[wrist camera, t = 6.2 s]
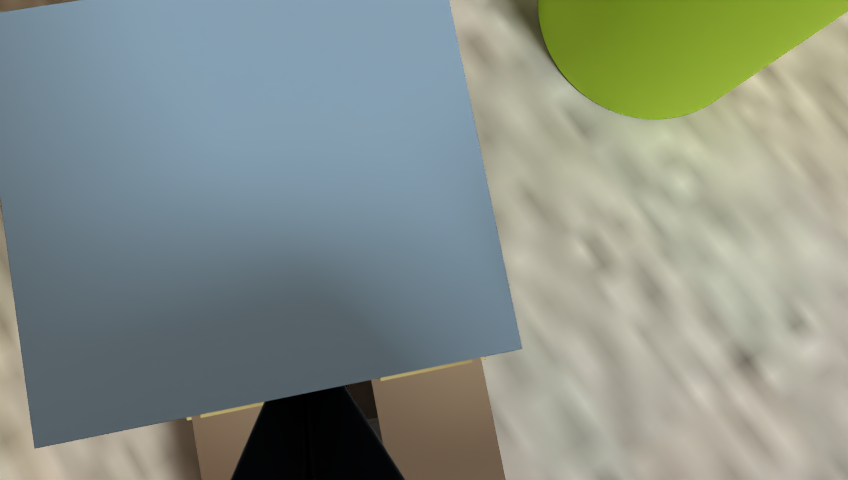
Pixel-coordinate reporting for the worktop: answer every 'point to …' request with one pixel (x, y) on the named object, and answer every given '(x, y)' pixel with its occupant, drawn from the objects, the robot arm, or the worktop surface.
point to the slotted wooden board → (391, 426)
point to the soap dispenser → (673, 47)
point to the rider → (239, 204)
